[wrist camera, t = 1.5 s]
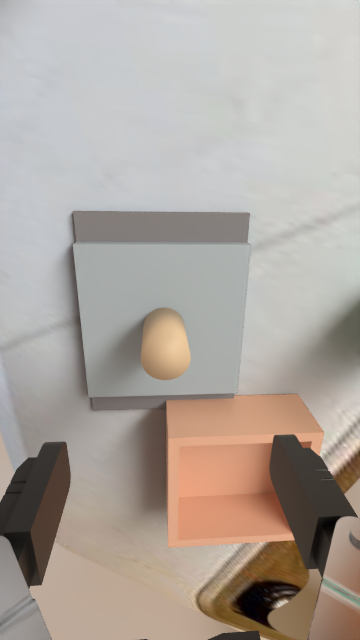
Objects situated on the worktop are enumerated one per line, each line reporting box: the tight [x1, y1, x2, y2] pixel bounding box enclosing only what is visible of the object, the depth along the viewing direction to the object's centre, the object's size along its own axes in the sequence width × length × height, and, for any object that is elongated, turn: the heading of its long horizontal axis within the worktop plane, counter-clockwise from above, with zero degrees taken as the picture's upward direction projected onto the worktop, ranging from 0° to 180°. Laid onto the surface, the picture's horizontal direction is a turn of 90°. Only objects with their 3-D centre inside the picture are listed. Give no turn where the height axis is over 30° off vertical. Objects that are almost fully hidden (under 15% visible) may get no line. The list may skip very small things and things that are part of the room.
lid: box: [73, 242, 251, 397], centre depth 23 cm, size 12×12×6 cm
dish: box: [166, 394, 324, 547], centre depth 29 cm, size 12×12×5 cm
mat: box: [73, 211, 250, 410], centre depth 26 cm, size 16×12×1 cm
